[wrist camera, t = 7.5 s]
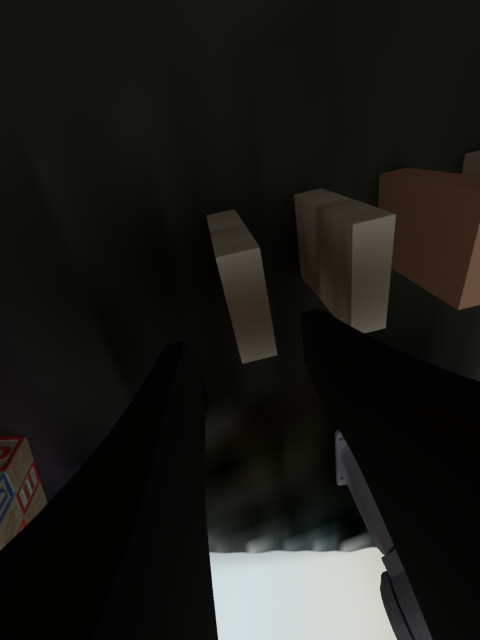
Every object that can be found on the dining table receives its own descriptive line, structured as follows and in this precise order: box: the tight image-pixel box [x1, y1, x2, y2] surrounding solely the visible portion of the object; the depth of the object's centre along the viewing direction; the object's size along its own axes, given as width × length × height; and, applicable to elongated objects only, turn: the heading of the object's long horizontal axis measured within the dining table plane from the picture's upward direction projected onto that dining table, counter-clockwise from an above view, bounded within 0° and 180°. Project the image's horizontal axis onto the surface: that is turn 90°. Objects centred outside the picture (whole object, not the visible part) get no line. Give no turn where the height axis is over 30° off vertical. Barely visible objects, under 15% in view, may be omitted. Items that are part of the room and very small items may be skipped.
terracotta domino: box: [378, 168, 480, 310], centre depth 15 cm, size 5×2×7 cm, turn 11°
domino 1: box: [207, 209, 277, 364], centre depth 15 cm, size 5×2×7 cm, turn 11°
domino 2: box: [294, 188, 396, 333], centre depth 15 cm, size 5×2×7 cm, turn 11°
